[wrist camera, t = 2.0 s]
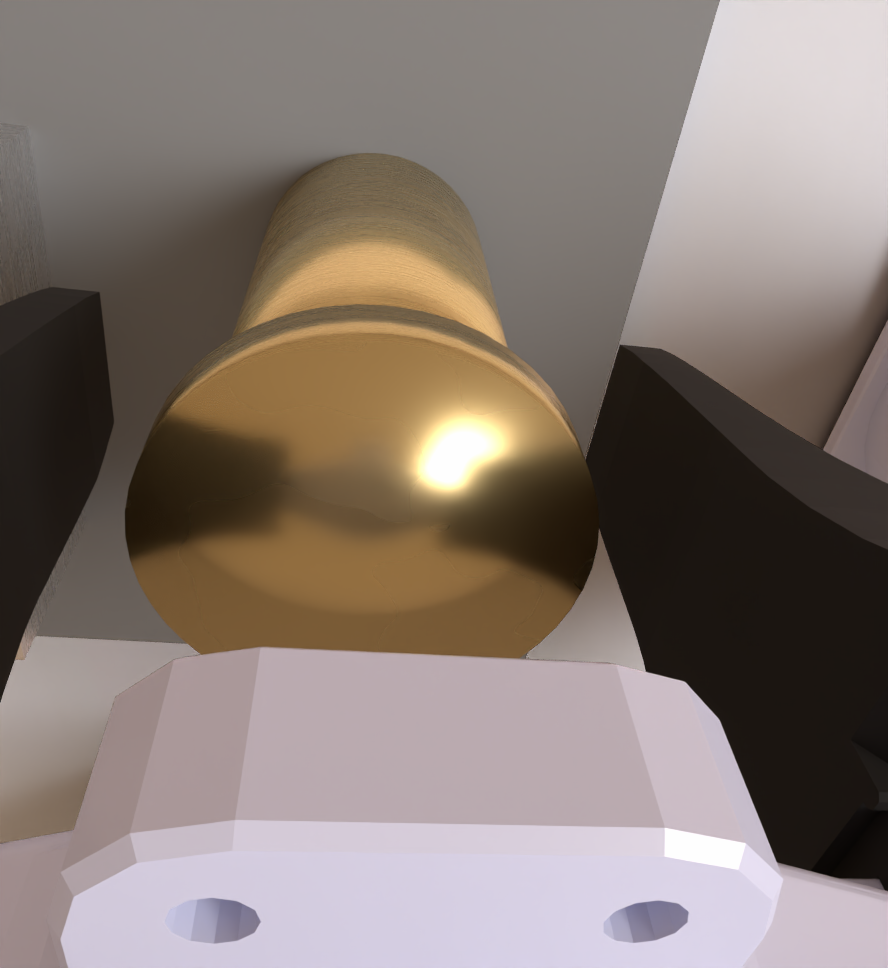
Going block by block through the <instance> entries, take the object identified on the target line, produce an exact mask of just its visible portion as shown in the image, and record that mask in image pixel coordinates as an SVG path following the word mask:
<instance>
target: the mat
mask: <svg viewBox="0 0 888 968" xmlns="http://www.w3.org/2000/svg"><path fill="white" fill-rule="evenodd" d="M719 1H720V0H0V123H7V124H15V125H23V126H29V131H30V138H31V145H32V152H33V159H34V166H35V173H36V179H37V186H38V193H39V200H40V207H41V214H42V220H43V227H44V234H45V241H46V248H47V255H48V261H49V268H50V275H51V282H52V287H57V288H67V289H76V290H86V291H96V292H100V299H101V308H102V317H103V326H104V335H105V344H106V353H107V362H108V371H109V380H110V389H111V398H112V407H113V416H114V425H113V428H112V432H111V435H110V439H109V442H108V446H107V450H106V453H105V456H104V459H103V463H102V466H101V469H100V472H99V475H98V478H97V481H96V483H95V485H94V487H93V489H92V491H91V494H90V496H89V498H88V500H87V502H86V504H85V506H84V508H85V514H86V521H87V523H86V525H85V527H84V529H83V531H82V534H81V536H80V538H79V540H78V542H77V545H76V547H75V549H74V551H73V554H72V556H71V558H70V560H69V562H68V565H67V567H66V569H65V571H64V573H63V576H62V578H61V580H60V582H59V584H58V587H57V589H56V591H55V593H54V595H53V598H52V600H51V602H50V604H49V607H48V609H47V611H46V613H45V615H44V618H43V620H42V622H41V624H40V626H39V629H38V631H37V633H36V635H35V636H49V637H68V638H88V639H107V640H127V641H146V642H166V643H186V642H185V641H183V640H182V639H181V638H180V637H179V636H178V635H177V634H176V633H175V632H174V631H173V630H172V629H171V628H170V627H169V626H168V625H167V624H166V623H165V622H164V620H163V619H162V618H161V616H160V615H159V614H158V613H157V611H156V610H155V609H154V608H153V606H152V605H151V604H150V602H149V600H148V598H147V597H146V595H145V593H144V591H143V590H142V588H141V586H140V584H139V583H138V580H137V577H136V575H135V572H134V569H133V567H132V564H131V562H130V558H129V553H128V548H127V543H126V538H125V507H126V501H127V494H128V488H129V485H130V482H131V479H132V476H133V473H134V471H135V468H136V465H137V462H138V460H139V457H140V455H141V452H142V450H143V448H144V445H145V443H146V440H147V438H148V435H149V433H150V431H151V428H152V426H153V423H154V421H155V419H156V417H157V415H158V413H159V411H160V410H161V408H162V406H163V404H164V402H165V401H166V399H167V397H168V395H169V394H170V393H171V392H172V390H173V389H174V388H175V387H176V385H177V384H178V383H179V382H180V380H181V379H182V378H183V376H184V375H185V374H186V373H187V372H188V371H189V370H190V369H192V368H193V367H194V366H195V365H196V364H197V363H198V362H199V361H200V360H201V359H202V358H203V357H205V356H206V355H207V354H208V353H210V352H211V351H213V350H214V349H216V348H217V347H219V346H220V345H222V344H223V343H224V342H226V341H227V340H229V339H230V338H232V336H233V333H234V330H235V327H236V324H237V321H238V317H239V314H240V311H241V308H242V305H243V302H244V299H245V296H246V292H247V289H248V286H249V283H250V280H251V277H252V274H253V271H254V267H255V264H256V261H257V258H258V255H259V252H260V249H261V246H262V243H263V239H264V236H265V233H266V230H267V227H268V224H269V221H270V219H271V216H272V214H273V211H274V210H275V208H276V206H277V204H278V202H279V201H280V199H281V198H282V197H283V195H284V194H285V193H286V191H287V190H288V189H289V188H290V187H291V186H292V185H293V184H294V183H295V182H296V181H297V180H298V179H299V178H300V177H301V176H303V175H304V174H305V173H307V172H308V171H310V170H311V169H313V168H315V167H316V166H318V165H320V164H322V163H324V162H326V161H329V160H332V159H335V158H337V157H341V156H346V155H351V154H358V153H382V154H389V155H394V156H399V157H402V158H405V159H408V160H411V161H413V162H416V163H418V164H420V165H422V166H424V167H426V168H428V169H429V170H431V171H432V172H434V173H435V174H436V175H438V176H439V177H441V178H442V179H443V180H444V181H445V182H446V183H447V184H448V185H450V186H451V187H452V188H453V190H454V191H455V192H456V193H457V194H458V196H459V197H460V198H461V199H462V201H463V202H464V204H465V206H466V207H467V209H468V210H469V212H470V214H471V217H472V219H473V221H474V223H475V226H476V229H477V233H478V236H479V239H480V243H481V247H482V251H483V255H484V259H485V262H486V266H487V270H488V274H489V278H490V282H491V285H492V289H493V293H494V297H495V301H496V305H497V308H498V312H499V316H500V320H501V324H502V328H503V332H504V335H505V339H506V343H507V347H508V348H509V349H510V350H511V351H513V352H514V353H515V354H516V355H518V356H519V357H520V358H521V359H522V360H524V361H525V362H526V363H527V364H529V365H530V366H531V367H532V368H533V369H534V370H535V371H536V372H537V373H538V374H539V375H540V377H541V378H542V379H543V380H544V381H545V382H546V383H547V384H548V385H549V386H550V387H551V389H552V390H553V392H554V393H555V395H556V396H557V398H558V399H559V401H560V402H561V404H562V405H563V407H564V408H565V410H566V412H567V414H568V416H569V418H570V421H571V423H572V425H573V427H574V429H575V432H576V434H577V437H578V440H579V443H580V446H581V449H582V452H583V455H584V458H585V455H586V452H587V449H588V445H589V442H590V438H591V435H592V432H593V428H594V425H595V421H596V418H597V415H598V411H599V408H600V404H601V401H602V398H603V394H604V391H605V388H606V384H607V381H608V377H609V374H610V371H611V367H612V364H613V360H614V357H615V354H616V350H617V347H618V343H619V340H620V337H621V333H622V330H623V327H624V323H625V320H626V316H627V313H628V310H629V306H630V303H631V299H632V296H633V293H634V289H635V286H636V283H637V279H638V276H639V272H640V269H641V266H642V262H643V259H644V255H645V252H646V249H647V245H648V242H649V238H650V235H651V232H652V228H653V225H654V222H655V218H656V215H657V211H658V208H659V205H660V201H661V198H662V194H663V191H664V188H665V184H666V181H667V177H668V174H669V171H670V167H671V164H672V161H673V157H674V154H675V150H676V147H677V144H678V140H679V137H680V133H681V130H682V127H683V123H684V120H685V116H686V113H687V110H688V106H689V103H690V100H691V96H692V93H693V89H694V86H695V83H696V79H697V76H698V72H699V69H700V66H701V62H702V59H703V55H704V52H705V49H706V45H707V42H708V39H709V35H710V32H711V28H712V25H713V22H714V18H715V15H716V11H717V8H718V5H719ZM186 644H187V643H186ZM526 655H527V653H526V654H524V655H523V656H522V657H520V658H519V659H526Z"/></svg>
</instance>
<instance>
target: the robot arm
mask: <svg viewBox="0 0 888 968" xmlns="http://www.w3.org/2000/svg"><path fill="white" fill-rule="evenodd" d="M113 425H114V416H113V407H112V398H111V389H110V380H109V371H108V362H107V353H106V344H105V335H104V326H103V317H102V308H101V299H100V292H96V291H86V290H76V289H67V288H57V287H50V288H46V289H42V290H38V291H35V292H33V293H30V294H27V295H25V296H22V297H20V298H17V299H15V300H12V301H10V302H8V303H5V304H3V305H1V306H0V702H1V698H2V695H3V692H4V689H5V686H6V684H7V681H8V678H9V675H10V672H11V669H12V666H13V663H14V660H15V658H16V655H17V652H18V649H19V646H20V643H21V640H22V637H23V634H24V632H25V629H26V627H27V624H28V622H29V620H30V617H31V615H32V613H33V611H34V608H35V606H36V604H37V601H38V599H39V597H40V595H41V593H42V591H43V589H44V587H45V585H46V583H47V581H48V579H49V577H50V575H51V573H52V571H53V569H54V567H55V565H56V563H57V561H58V559H59V557H60V555H61V553H62V551H63V549H64V547H65V545H66V543H67V541H68V539H69V537H70V535H71V533H72V531H73V529H74V527H75V525H76V523H77V521H78V518H79V516H80V514H81V512H82V510H83V508H84V506H85V504H86V502H87V500H88V498H89V496H90V494H91V491H92V489H93V487H94V485H95V483H96V481H97V478H98V475H99V472H100V469H101V466H102V463H103V459H104V456H105V453H106V450H107V446H108V442H109V439H110V435H111V432H112V428H113ZM586 463H587V466H588V469H589V472H590V475H591V479H592V482H593V486H594V490H595V493H596V497H597V504H598V515H599V529H600V532H601V535H602V538H603V541H604V544H605V547H606V550H607V553H608V556H609V559H610V562H611V564H612V567H613V570H614V573H615V576H616V579H617V582H618V584H619V587H620V590H621V593H622V596H623V599H624V602H625V604H626V607H627V610H628V613H629V616H630V619H631V622H632V624H633V627H634V630H635V633H636V637H637V640H638V643H639V647H640V650H641V654H642V657H643V661H644V665H645V670H646V672H644V671H640V670H636V669H632V668H628V667H624V666H620V665H616V664H612V663H602V662H581V661H560V660H538V659H517V658H495V657H474V656H453V655H431V654H410V653H388V652H367V651H346V650H324V649H303V648H281V647H255V648H248V649H240V650H233V651H225V652H218V653H210V654H203V655H195V656H187V657H183V658H178V659H174V660H172V661H171V662H169V663H168V664H166V665H165V666H163V667H161V668H160V669H158V670H157V671H155V672H154V673H152V674H150V675H149V676H147V677H146V678H144V679H143V680H141V681H139V682H138V683H136V684H135V685H133V686H132V687H130V688H129V689H127V690H125V691H124V692H122V693H121V694H119V695H118V696H116V697H115V700H114V703H113V706H112V710H111V713H110V716H109V719H108V722H107V725H106V729H105V732H104V735H103V738H102V741H101V745H100V748H99V751H98V754H97V757H96V760H95V764H94V767H93V770H92V773H91V776H90V780H89V783H88V786H87V789H86V792H85V795H84V799H83V802H82V805H81V808H80V811H79V815H78V818H77V821H76V824H75V827H74V830H71V831H66V832H60V833H55V834H49V835H44V836H38V837H33V838H27V839H22V840H16V841H11V842H5V843H0V968H888V320H887V322H886V324H885V326H884V328H883V330H882V332H881V334H880V336H879V338H878V340H877V342H876V344H875V346H874V348H873V350H872V352H871V354H870V356H869V358H868V360H867V362H866V364H865V366H864V368H863V370H862V372H861V374H860V376H859V378H858V380H857V382H856V384H855V386H854V388H853V390H852V392H851V394H850V396H849V398H848V400H847V402H846V404H845V406H844V408H843V410H842V412H841V414H840V416H839V419H838V421H837V423H836V425H835V427H834V429H833V431H832V433H831V435H830V437H829V439H828V441H827V443H826V445H825V447H824V449H823V450H822V449H820V448H818V447H816V446H815V445H813V444H811V443H810V442H808V441H806V440H805V439H803V438H801V437H800V436H798V435H796V434H795V433H793V432H791V431H790V430H788V429H786V428H785V427H783V426H781V425H780V424H778V423H777V422H775V421H774V420H772V419H771V418H769V417H767V416H766V415H764V414H763V413H761V412H760V411H758V410H757V409H755V408H754V407H752V406H751V405H749V404H748V403H746V402H745V401H743V400H742V399H740V398H739V397H737V396H736V395H734V394H733V393H731V392H730V391H728V390H727V389H725V388H724V387H723V386H721V385H720V384H718V383H717V382H715V381H714V380H712V379H711V378H709V377H708V376H706V375H705V374H703V373H702V372H700V371H699V370H697V369H696V368H694V367H693V366H691V365H689V364H688V363H686V362H685V361H683V360H681V359H680V358H678V357H676V356H674V355H672V354H671V353H668V352H666V351H664V350H662V349H657V348H647V347H637V346H627V345H620V346H619V350H618V353H617V357H616V360H615V363H614V367H613V370H612V373H611V377H610V380H609V383H608V387H607V390H606V394H605V397H604V400H603V404H602V407H601V410H600V414H599V417H598V421H597V424H596V427H595V431H594V434H593V437H592V441H591V444H590V447H589V451H588V454H587V458H586Z"/></svg>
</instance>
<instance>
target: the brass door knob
mask: <svg viewBox="0 0 888 968" xmlns="http://www.w3.org/2000/svg"><path fill="white" fill-rule="evenodd" d="M598 532H599V515H598V504H597V497H596V493H595V490H594V486H593V482H592V479H591V475H590V472H589V469H588V466H587V463H586V461H585V458H584V455H583V452H582V449H581V446H580V443H579V440H578V437H577V434H576V432H575V429H574V427H573V425H572V423H571V421H570V418H569V416H568V414H567V412H566V410H565V408H564V407H563V405H562V404H561V402H560V401H559V399H558V398H557V396H556V395H555V393H554V392H553V390H552V389H551V387H550V386H549V385H548V384H547V383H546V382H545V381H544V380H543V379H542V378H541V377H540V375H539V374H538V373H537V372H536V371H535V370H534V369H533V368H532V367H531V366H530V365H529V364H527V363H526V362H525V361H524V360H522V359H521V358H520V357H519V356H518V355H516V354H515V353H514V352H513V351H511V350H510V349H509V348H508V347H507V343H506V339H505V335H504V332H503V328H502V324H501V320H500V316H499V312H498V308H497V305H496V301H495V297H494V293H493V289H492V285H491V282H490V278H489V274H488V270H487V266H486V262H485V259H484V255H483V251H482V247H481V243H480V239H479V236H478V233H477V229H476V226H475V223H474V221H473V219H472V217H471V214H470V212H469V210H468V209H467V207H466V206H465V204H464V202H463V201H462V199H461V198H460V197H459V196H458V194H457V193H456V192H455V191H454V190H453V188H452V187H451V186H450V185H448V184H447V183H446V182H445V181H444V180H443V179H442V178H441V177H439V176H438V175H436V174H435V173H434V172H432V171H431V170H429V169H428V168H426V167H424V166H422V165H420V164H418V163H416V162H413V161H411V160H408V159H405V158H402V157H399V156H394V155H389V154H382V153H358V154H351V155H346V156H341V157H337V158H335V159H332V160H329V161H326V162H324V163H322V164H320V165H318V166H316V167H315V168H313V169H311V170H310V171H308V172H307V173H305V174H304V175H303V176H301V177H300V178H299V179H298V180H297V181H296V182H295V183H294V184H293V185H292V186H291V187H290V188H289V189H288V190H287V191H286V193H285V194H284V195H283V197H282V198H281V199H280V201H279V202H278V204H277V206H276V208H275V210H274V211H273V214H272V216H271V219H270V221H269V224H268V227H267V230H266V233H265V236H264V239H263V243H262V246H261V249H260V252H259V255H258V258H257V261H256V264H255V267H254V271H253V274H252V277H251V280H250V283H249V286H248V289H247V292H246V296H245V299H244V302H243V305H242V308H241V311H240V314H239V317H238V321H237V324H236V327H235V330H234V333H233V336H232V338H230V339H229V340H227V341H226V342H224V343H223V344H222V345H220V346H219V347H217V348H216V349H214V350H213V351H211V352H210V353H208V354H207V355H206V356H205V357H203V358H202V359H201V360H200V361H199V362H198V363H197V364H196V365H195V366H194V367H193V368H192V369H190V370H189V371H188V372H187V373H186V374H185V375H184V376H183V378H182V379H181V380H180V382H179V383H178V384H177V385H176V387H175V388H174V389H173V390H172V392H171V393H170V394H169V395H168V397H167V399H166V401H165V402H164V404H163V406H162V408H161V410H160V411H159V413H158V415H157V417H156V419H155V421H154V423H153V426H152V428H151V431H150V433H149V435H148V438H147V440H146V443H145V445H144V448H143V450H142V452H141V455H140V457H139V460H138V462H137V465H136V468H135V471H134V473H133V476H132V479H131V482H130V485H129V488H128V494H127V501H126V507H125V538H126V543H127V548H128V553H129V558H130V562H131V564H132V567H133V569H134V572H135V575H136V577H137V580H138V583H139V584H140V586H141V588H142V590H143V591H144V593H145V595H146V597H147V598H148V600H149V602H150V604H151V605H152V606H153V608H154V609H155V610H156V611H157V613H158V614H159V615H160V616H161V618H162V619H163V620H164V622H165V623H166V624H167V625H168V626H169V627H170V628H171V629H172V630H173V631H174V632H175V633H176V634H177V635H178V636H179V637H180V638H181V639H182V640H183V641H185V642H186V643H187V644H188V645H190V646H191V647H192V648H194V649H195V650H196V651H198V652H199V653H200V654H201V655H203V654H210V653H218V652H225V651H233V650H240V649H248V648H255V647H281V648H303V649H324V650H346V651H367V652H388V653H410V654H431V655H453V656H474V657H495V658H517V659H519V658H520V657H522V656H523V655H524V654H526V653H527V652H528V651H530V650H531V649H532V648H534V647H535V646H536V645H538V644H539V643H540V642H541V641H542V640H543V639H544V638H545V637H546V636H547V635H548V634H549V633H550V632H551V631H553V630H554V629H555V628H556V627H557V625H558V624H559V623H560V622H561V621H562V619H563V618H564V617H565V616H566V614H567V613H568V612H569V611H570V609H571V608H572V606H573V605H574V603H575V601H576V600H577V598H578V597H579V595H580V593H581V592H582V590H583V588H584V586H585V583H586V581H587V579H588V576H589V574H590V571H591V569H592V566H593V562H594V558H595V554H596V550H597V545H598Z"/></svg>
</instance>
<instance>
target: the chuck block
mask: <svg viewBox="0 0 888 968" xmlns="http://www.w3.org/2000/svg"><path fill="white" fill-rule="evenodd" d="M50 287H52V282H51V275H50V268H49V261H48V255H47V248H46V241H45V234H44V227H43V220H42V214H41V207H40V200H39V193H38V186H37V179H36V173H35V166H34V159H33V152H32V145H31V138H30V131H29V126H23V125H15V124H7V123H0V306H1V305H3V304H5V303H8V302H10V301H12V300H15V299H17V298H20V297H22V296H25V295H27V294H30V293H33V292H35V291H38V290H42V289H46V288H50ZM86 523H87V521H86V514H85V508H83V510H82V512H81V514H80V516H79V518H78V521H77V523H76V525H75V527H74V529H73V531H72V533H71V535H70V537H69V539H68V541H67V543H66V545H65V547H64V549H63V551H62V553H61V555H60V557H59V559H58V561H57V563H56V565H55V567H54V569H53V571H52V573H51V575H50V577H49V579H48V581H47V583H46V585H45V587H44V589H43V591H42V593H41V595H40V597H39V599H38V601H37V604H36V606H35V608H34V611H33V613H32V615H31V617H30V620H29V622H28V624H27V627H26V629H25V632H24V634H23V637H22V640H21V643H20V646H19V649H18V652H17V655H16V658H15V659H16V660H25V657H26V655H27V653H28V651H29V649H30V646H31V644H32V642H33V640H34V637H35V635H36V633H37V631H38V629H39V626H40V624H41V622H42V620H43V618H44V615H45V613H46V611H47V609H48V607H49V604H50V602H51V600H52V598H53V595H54V593H55V591H56V589H57V587H58V584H59V582H60V580H61V578H62V576H63V573H64V571H65V569H66V567H67V565H68V562H69V560H70V558H71V556H72V554H73V551H74V549H75V547H76V545H77V542H78V540H79V538H80V536H81V534H82V531H83V529H84V527H85V525H86Z"/></svg>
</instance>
